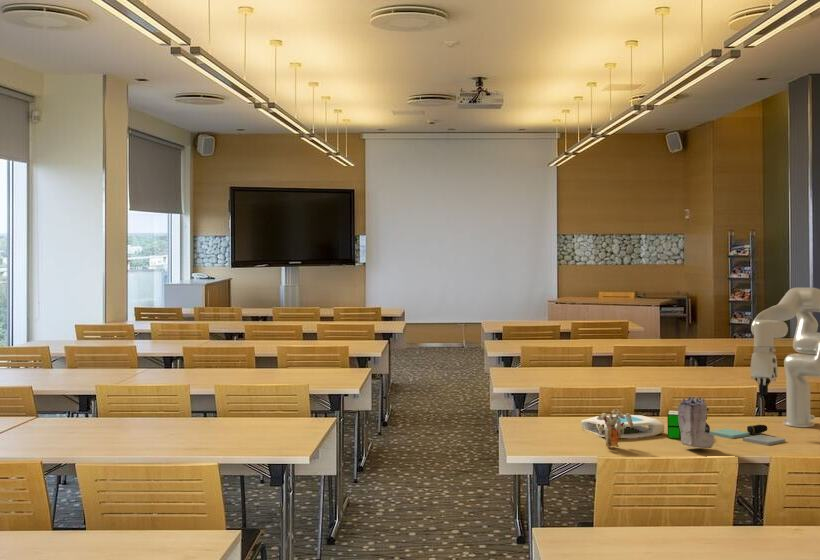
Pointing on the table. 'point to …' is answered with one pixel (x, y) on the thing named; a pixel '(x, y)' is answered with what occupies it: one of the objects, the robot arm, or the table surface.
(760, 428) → the tape measure
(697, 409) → the cell model
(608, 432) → the voxel character
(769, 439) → the slate board
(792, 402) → the robot arm
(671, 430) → the puzzle cube
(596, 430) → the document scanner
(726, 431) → the teal board
